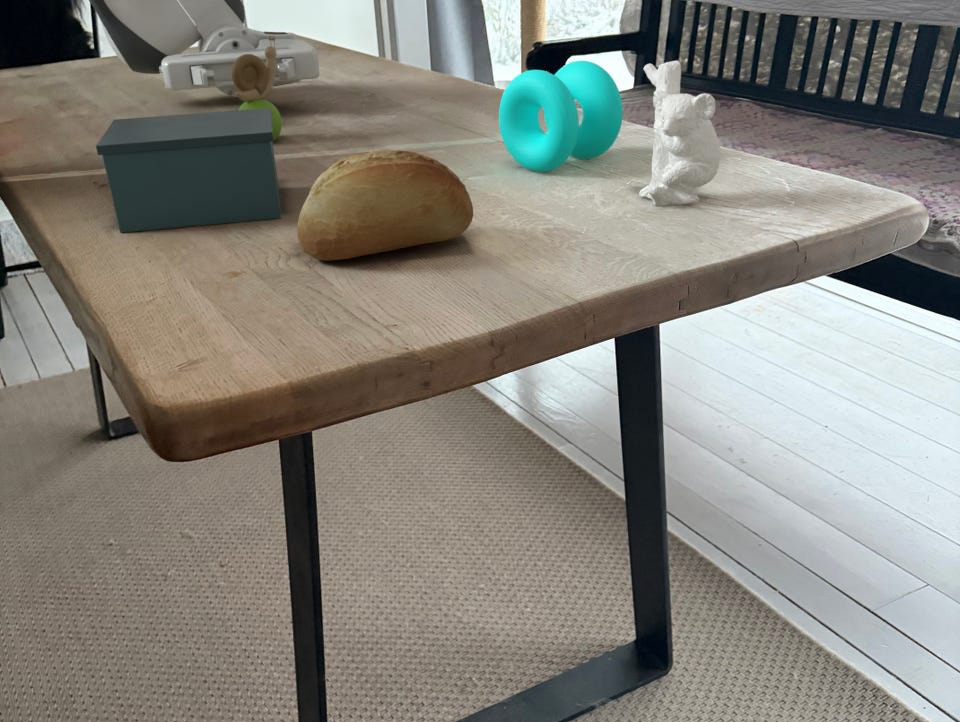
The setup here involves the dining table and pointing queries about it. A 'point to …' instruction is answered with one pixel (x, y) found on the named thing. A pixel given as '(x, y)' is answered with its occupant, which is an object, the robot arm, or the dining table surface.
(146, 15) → the robot arm
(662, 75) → the koala figurine
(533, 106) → the donuts
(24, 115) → the dining table surface
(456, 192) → the bread roll
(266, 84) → the snail figurine
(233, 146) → the container
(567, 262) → the dining table surface
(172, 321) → the dining table surface
